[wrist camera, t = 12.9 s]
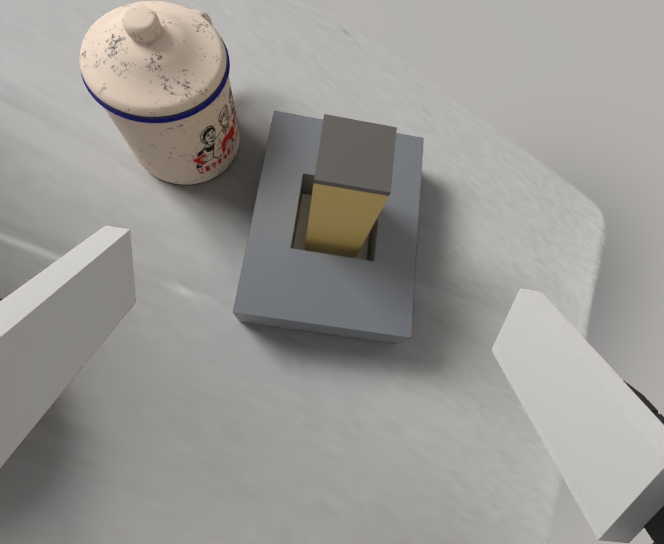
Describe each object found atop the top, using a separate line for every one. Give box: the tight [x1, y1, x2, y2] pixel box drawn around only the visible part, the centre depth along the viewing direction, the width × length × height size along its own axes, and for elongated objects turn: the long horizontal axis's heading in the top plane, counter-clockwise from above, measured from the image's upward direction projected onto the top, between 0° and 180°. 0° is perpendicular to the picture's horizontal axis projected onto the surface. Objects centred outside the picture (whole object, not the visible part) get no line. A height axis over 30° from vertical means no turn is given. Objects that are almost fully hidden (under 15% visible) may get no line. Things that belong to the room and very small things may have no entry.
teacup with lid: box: [80, 1, 240, 185], centre depth 28 cm, size 12×9×12 cm
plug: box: [304, 114, 397, 258], centre depth 26 cm, size 4×4×11 cm
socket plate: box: [233, 111, 424, 344], centre depth 30 cm, size 12×16×4 cm
